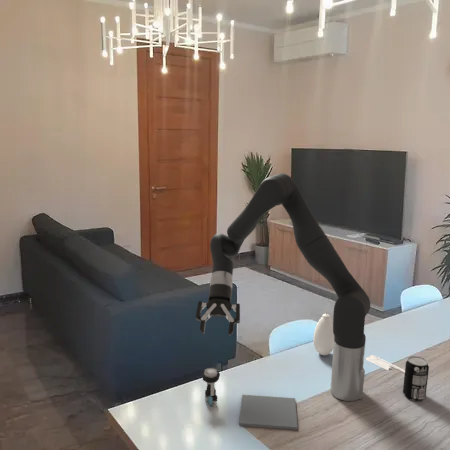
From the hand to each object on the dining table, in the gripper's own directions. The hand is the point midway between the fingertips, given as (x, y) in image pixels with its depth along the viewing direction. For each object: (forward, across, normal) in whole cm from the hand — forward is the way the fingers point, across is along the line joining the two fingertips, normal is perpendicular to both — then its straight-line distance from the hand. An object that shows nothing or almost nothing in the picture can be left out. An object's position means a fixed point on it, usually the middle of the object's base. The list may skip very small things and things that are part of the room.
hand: (216, 334), depth 148 cm
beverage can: (+12, +62, +11) cm, 64 cm away
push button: (+20, 0, +3) cm, 21 cm away
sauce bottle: (-5, +37, +28) cm, 47 cm away
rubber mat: (+22, +17, +1) cm, 28 cm away
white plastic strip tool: (0, +58, +24) cm, 63 cm away
